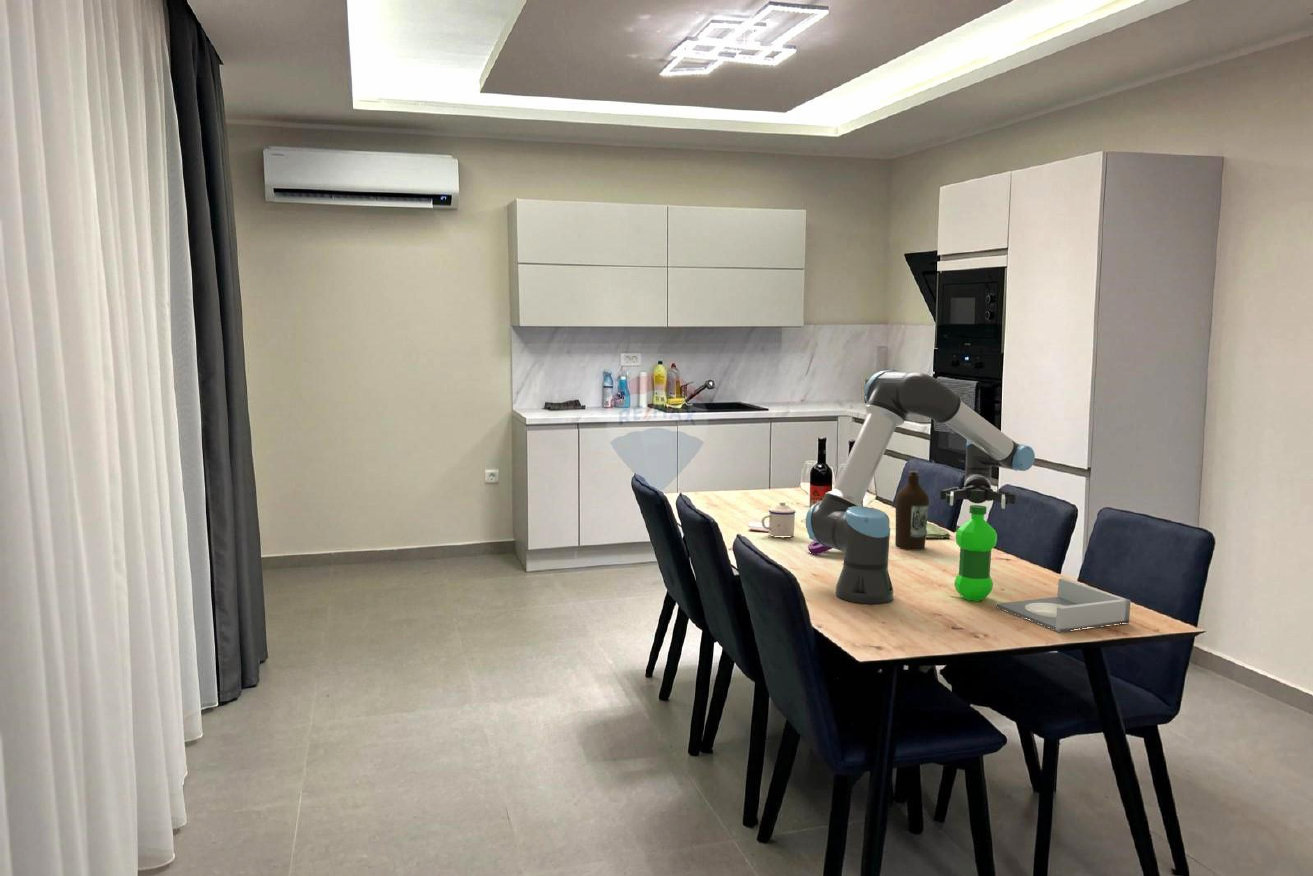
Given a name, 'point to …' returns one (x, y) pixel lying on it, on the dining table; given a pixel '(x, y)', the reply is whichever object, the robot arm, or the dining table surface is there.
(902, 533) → the olive oil
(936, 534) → the washcloth
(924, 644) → the dining table surface
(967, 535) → the plastic bottle
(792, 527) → the teacup with lid
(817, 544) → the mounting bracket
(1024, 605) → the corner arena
